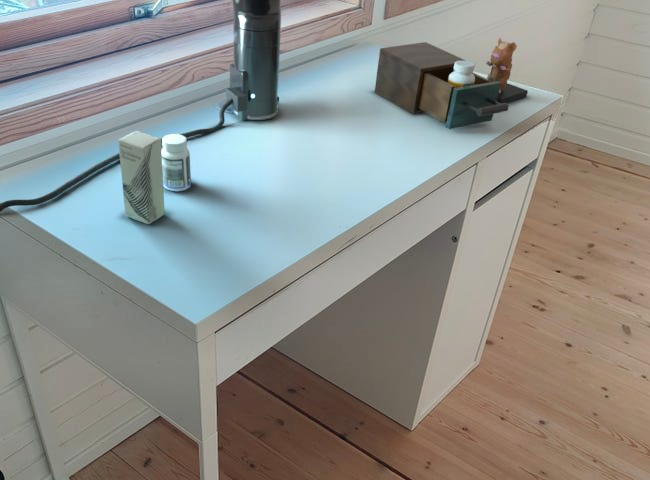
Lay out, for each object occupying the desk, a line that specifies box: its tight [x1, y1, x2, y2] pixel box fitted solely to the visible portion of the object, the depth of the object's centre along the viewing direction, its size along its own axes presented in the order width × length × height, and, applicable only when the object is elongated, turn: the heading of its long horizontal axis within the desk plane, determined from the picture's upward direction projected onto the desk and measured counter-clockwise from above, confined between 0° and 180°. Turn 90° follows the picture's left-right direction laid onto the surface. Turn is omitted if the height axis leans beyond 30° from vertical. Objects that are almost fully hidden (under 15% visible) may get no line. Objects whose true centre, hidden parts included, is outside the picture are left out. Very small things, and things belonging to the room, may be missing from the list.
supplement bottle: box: [448, 60, 476, 88], centre depth 140 cm, size 5×5×10 cm
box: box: [118, 130, 166, 225], centre depth 105 cm, size 5×4×13 cm
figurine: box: [485, 37, 529, 105], centre depth 153 cm, size 10×10×12 cm
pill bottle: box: [161, 133, 192, 192], centre depth 115 cm, size 5×5×8 cm
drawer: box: [417, 67, 509, 130], centre depth 141 cm, size 19×11×8 cm, turn 28°
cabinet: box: [374, 41, 467, 116], centre depth 150 cm, size 15×13×10 cm
